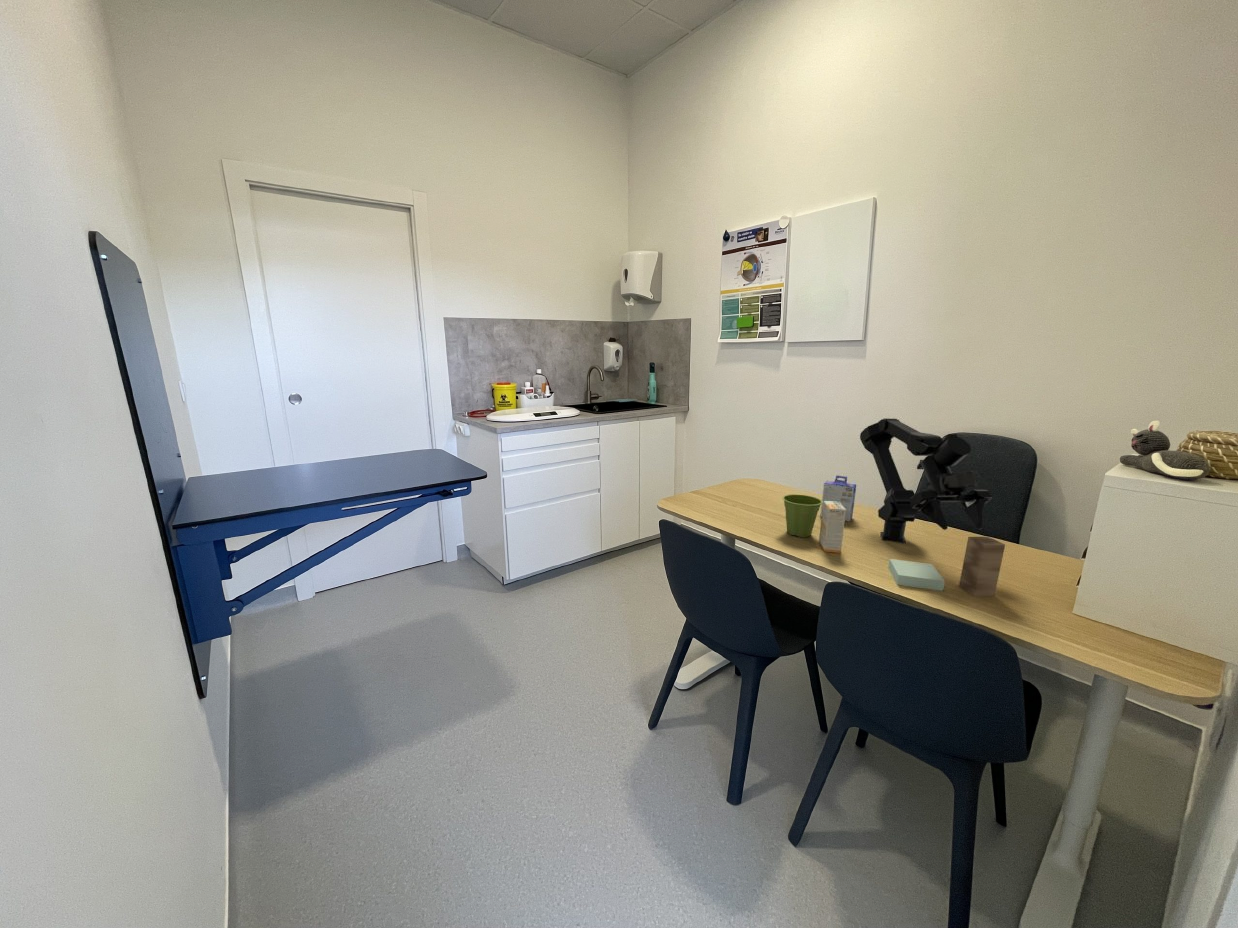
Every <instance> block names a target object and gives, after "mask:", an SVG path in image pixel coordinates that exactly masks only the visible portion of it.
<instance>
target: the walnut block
mask: <svg viewBox="0 0 1238 928" xmlns="http://www.w3.org/2000/svg"><path fill="white" fill-rule="evenodd" d="M1005 547H1006V544H1005V543H1003V542H1001V541H998V540H996V539H994V538H992V537H990V536H967V541H966V548H965V551H964V552H965V553H964V556H963V557H964V558H963V562H962V563H963V564H962V568H961V574H960V580H959V584H958V587H960V588H961V589H963V590H964V591H966V592H967V593H969V594H971V595H972V596H974V597H988V596H990V597H993V596H996V595H995V594H996V591H997V586H998V585H997V584H998V580H999V575H1000V571H1001V567H1002V561H1003V557H1004V552H1005Z"/></svg>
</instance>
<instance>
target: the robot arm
mask: <svg viewBox="0 0 1238 928" xmlns="http://www.w3.org/2000/svg"><path fill="white" fill-rule="evenodd" d="M894 438H895V439H897V440H898V441H900V442H902V443H903V444H905V445H906V449H907V450H908V451H909V452H910V453H911V454H912V455H913V456H915V457H924V458H923V459H920V460H919V462H918V464H917V466H916V470H923V471H924V473H925V477H926V478H927V480H928V482H926V487H927V488H930V489H920V490H918V491H917V492H916V493H915V491H913V489H906V488H905V486H904V484H903V481H902V479H901V476H900V473H899V471H898V469H897V466H896V463H895V461H894V458H893V456H892V453H891V450H890V447H891V445H892V439H894ZM859 439H860V441H861V444H862V445H863V448H864V449H865V450H866V451H868V452H869V453H870V454H871V455H872V456H873V459H874V462H875V465H876V467H877V470H878V473H879V476H880V479H881V481H882V484H883V486H884V490H885V492H886V495H885V497H884V498H883V505H881V507H880V508H879V509H878V510H877V512H878V515H877V516H878V518H880V519H881V520H883V521H884V523H883V531H880V532H879V534H880V537H881V540H883V541H889V542H896V543H901V544H902V543H903V544H904V543H905V544H906V543H907V539H906V537H905V532H906V525H907V522H911V523H914V521H915V520H916V517H917V516H918V513H919V512H921V513H922V514H924V515H925V516H926V517H928V518H930V520H931V521H932V522H934V523H935V524H936V525H938V526H939V527H940V528H941V529H942V530H943V531H946V530H948V525H947V521H946V519H945V516H944V514H943V511H942V508H941V503H960V504H961V505H962V507H964V508H963V511H964V512H965V514H966V515H967V516H968V518H969V520H970V521H971V522H972V524H973V525H974V526H975V527H976V529H977V530H982V529H983V528H984V527H983V526H984V525H983V509H984V506H985V505H986V504H987V503H989V502H990V501H991V500H992V499H993V496H992V494H991V493H990V491H989V490H988V489H972V490H970V491H968V490H967V488H971V487H977V485H978V484H981V483H982V477H981V475H980V473H979V471H978V470H970V471H967V472H966V473H956V472H955V473H953V472H952V470H951V468H950V467H953V466H956V465H957V464H958V463H959V462H961V461H962V460H963V459H964V458H965V457H967V456H969V454H970V453H971V451H972V447H971V444H970V443H969V442H968V441H966V440H965V439H963V438H962V437H959V436H958V435H957V433H948V434H947V435H946V436H945V438H944V439H943V438H942V437H941V436H940V435H937V434H933V433H926V432H921V431H919V430H917V429H915V428H913V427H911V426H909V425H908V424H905V423H904V422H902V421H901V420H900V419H898V418H889V417H888V418H887V417H886V418H881V419H880V420H879V421H878V422H876V423H873V424H871V425H868V426H866V427H865V428H863V430H862V431H861V432H860V434H859ZM966 491H968V493H965V494H962V493H964V492H966Z"/></svg>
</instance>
